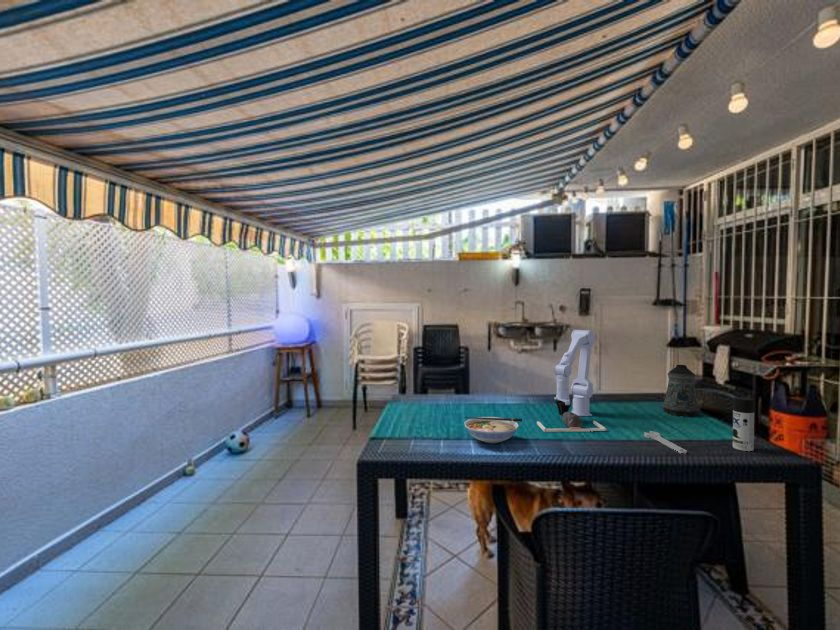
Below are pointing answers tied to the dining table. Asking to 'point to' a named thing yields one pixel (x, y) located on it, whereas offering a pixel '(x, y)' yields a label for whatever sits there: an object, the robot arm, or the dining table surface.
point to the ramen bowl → (491, 428)
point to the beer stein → (681, 393)
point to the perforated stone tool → (571, 419)
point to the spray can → (743, 424)
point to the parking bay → (574, 428)
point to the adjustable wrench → (664, 441)
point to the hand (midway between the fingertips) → (562, 416)
